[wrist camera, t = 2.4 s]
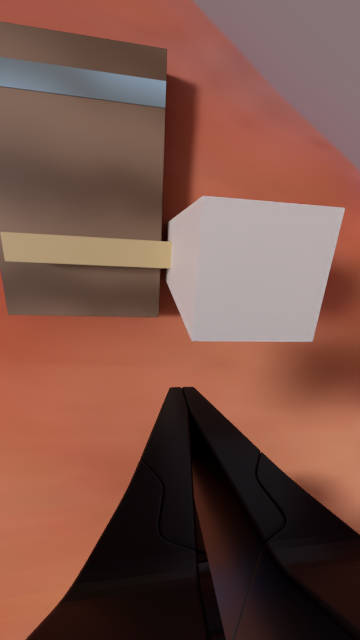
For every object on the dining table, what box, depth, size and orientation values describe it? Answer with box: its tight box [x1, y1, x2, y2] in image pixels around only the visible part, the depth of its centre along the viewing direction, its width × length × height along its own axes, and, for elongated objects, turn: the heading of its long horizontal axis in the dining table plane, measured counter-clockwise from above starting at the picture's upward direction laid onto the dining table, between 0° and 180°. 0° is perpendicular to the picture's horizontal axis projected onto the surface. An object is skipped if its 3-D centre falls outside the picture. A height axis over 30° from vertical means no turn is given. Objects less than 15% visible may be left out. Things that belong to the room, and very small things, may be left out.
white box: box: [0, 196, 345, 342], centre depth 12 cm, size 4×13×12 cm, turn 87°
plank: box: [0, 22, 167, 317], centre depth 16 cm, size 15×10×2 cm, turn 177°
